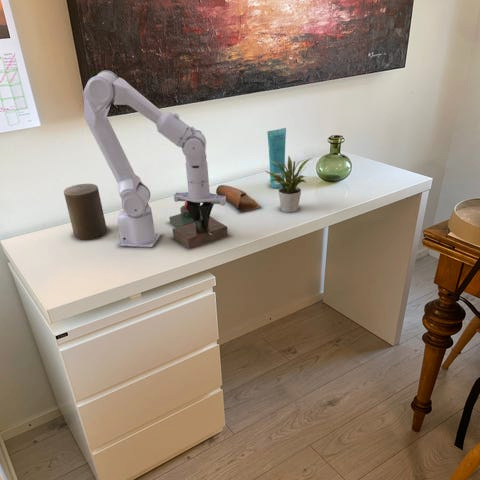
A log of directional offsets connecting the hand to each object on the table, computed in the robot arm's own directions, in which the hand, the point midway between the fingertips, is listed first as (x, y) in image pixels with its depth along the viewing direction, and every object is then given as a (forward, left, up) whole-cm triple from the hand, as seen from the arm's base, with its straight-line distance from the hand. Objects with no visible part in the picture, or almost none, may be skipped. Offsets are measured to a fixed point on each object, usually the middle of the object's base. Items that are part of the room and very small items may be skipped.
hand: (202, 226), depth 141 cm
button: (-7, +13, 0) cm, 15 cm away
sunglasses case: (+5, +29, -4) cm, 30 cm away
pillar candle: (-35, +1, -4) cm, 35 cm away
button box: (-7, +11, -4) cm, 13 cm away
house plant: (+23, +25, -4) cm, 34 cm away
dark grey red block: (0, 0, -1) cm, 1 cm away
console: (-1, +1, -4) cm, 4 cm away
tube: (+16, +45, -4) cm, 48 cm away
